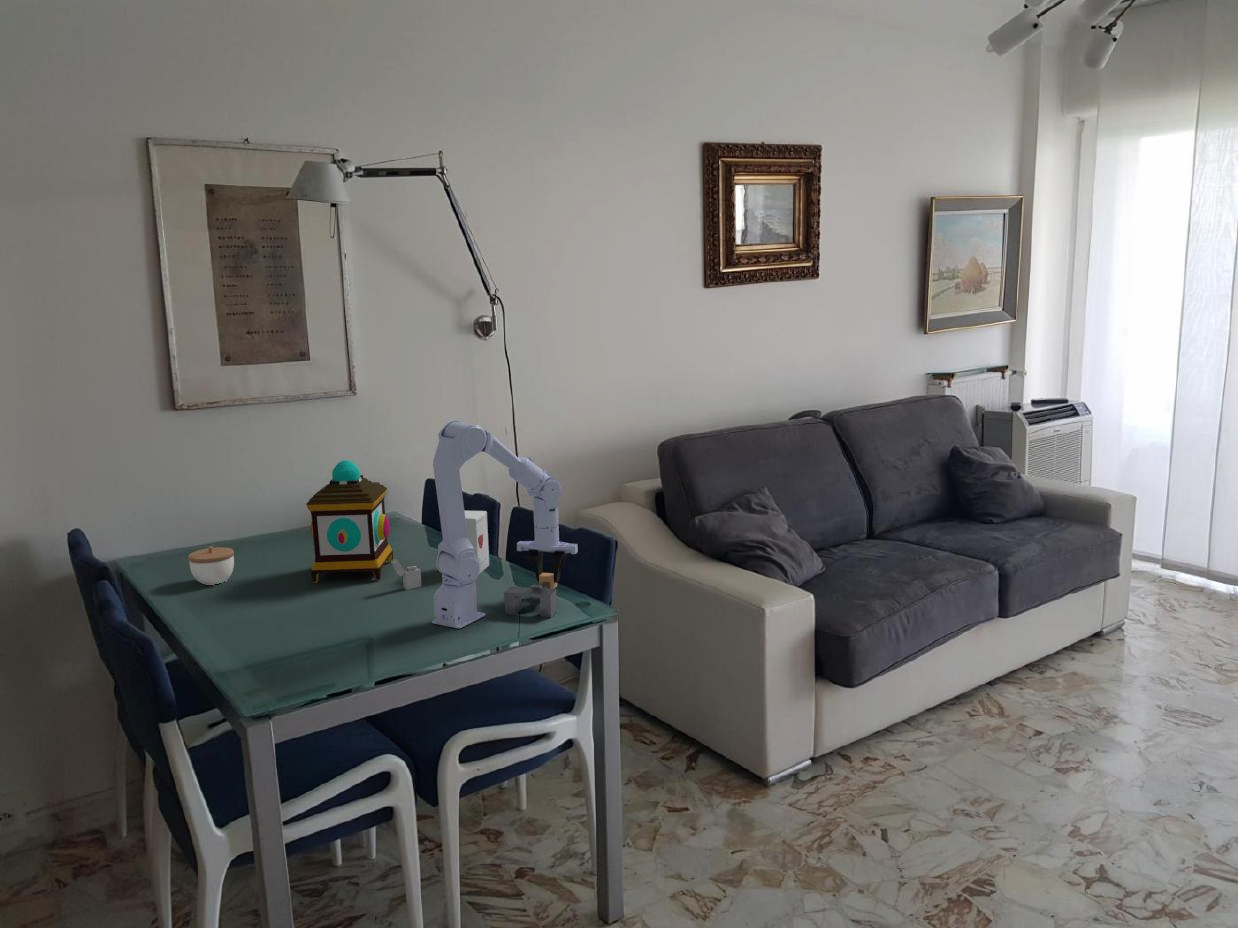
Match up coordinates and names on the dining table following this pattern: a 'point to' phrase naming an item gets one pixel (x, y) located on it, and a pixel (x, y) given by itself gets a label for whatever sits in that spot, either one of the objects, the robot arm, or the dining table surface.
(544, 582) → the plug
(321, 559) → the decorative lantern
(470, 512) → the supplement box
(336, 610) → the dining table surface
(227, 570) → the lidded jar
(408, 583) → the lighter
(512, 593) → the housing
